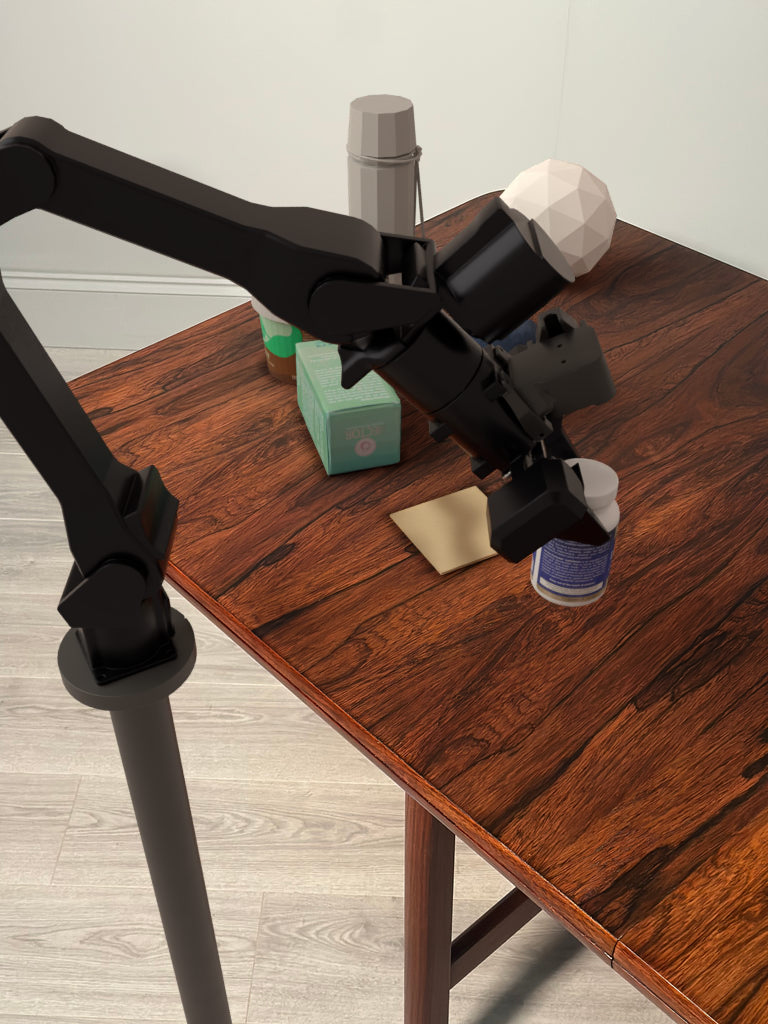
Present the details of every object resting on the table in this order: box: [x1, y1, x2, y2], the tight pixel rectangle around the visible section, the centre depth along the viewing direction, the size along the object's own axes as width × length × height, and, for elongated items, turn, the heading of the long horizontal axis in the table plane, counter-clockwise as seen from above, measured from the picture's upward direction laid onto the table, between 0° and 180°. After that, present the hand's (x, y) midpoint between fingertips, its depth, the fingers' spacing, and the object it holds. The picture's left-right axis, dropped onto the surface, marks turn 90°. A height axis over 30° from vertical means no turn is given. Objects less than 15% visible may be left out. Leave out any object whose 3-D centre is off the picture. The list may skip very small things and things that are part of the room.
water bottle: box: [345, 93, 426, 285], centre depth 115 cm, size 9×8×25 cm
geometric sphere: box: [499, 158, 618, 278], centre depth 128 cm, size 14×15×15 cm
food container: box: [250, 295, 318, 386], centre depth 111 cm, size 12×6×10 cm, turn 17°
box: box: [296, 340, 402, 476], centre depth 101 cm, size 7×14×8 cm, turn 16°
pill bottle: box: [529, 457, 621, 608], centre depth 75 cm, size 6×6×10 cm
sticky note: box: [389, 485, 499, 576], centre depth 92 cm, size 9×9×1 cm
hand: (597, 514), depth 74 cm, fingers closed on pill bottle, 6 cm apart
